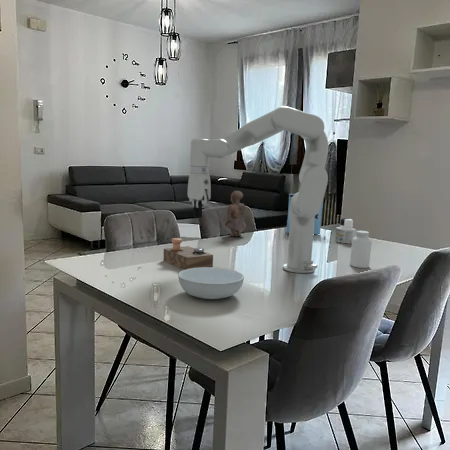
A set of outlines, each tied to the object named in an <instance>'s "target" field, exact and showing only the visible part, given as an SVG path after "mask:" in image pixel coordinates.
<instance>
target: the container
mask: <svg viewBox="0 0 450 450" xmlns="http://www.w3.org/2000/svg"><path fill="white" fill-rule="evenodd" d="M353 226H354V220H353V219H352V218H346V217H344V218H341V219H340V225H339V227H337V226H336V227H335V229H336V230H335V237H334V239H335V240H334V241H335V242H337V241H339V242H338V243H340V242H342V243H341V244H343V243H348V244H352V240H353V238H354V237H357V236H356V231H357V229H356V228H353Z"/></svg>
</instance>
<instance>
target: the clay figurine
mask: <svg viewBox="0 0 450 450" xmlns="http://www.w3.org/2000/svg"><path fill="white" fill-rule="evenodd" d="M243 197H244V194H243V192H242V191H241V190H234V191H233V192H231V194H230V202H231V204H228V206H227V210H226V211H227V220H226V221H225V222H224V223H225V224H224V226H225V227H227V228H228V229H230V232H231V234H230V235H229V237H238V236H239V237H241V236H242V234H241V233H242V232H244V231H245V230H246V228H247V225H246V222H245V213H246V212H245V210H246V204H244V203H241V201H240V200H242V199H243Z"/></svg>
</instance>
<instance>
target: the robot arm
mask: <svg viewBox="0 0 450 450" xmlns="http://www.w3.org/2000/svg"><path fill="white" fill-rule="evenodd" d="M283 131H286V132H289V133H290V134H291V133H292V134H294V135H298V136H300V138H302V139H303V140H304V142H305V153H304V157H303V160H302V164H301V167H300V170H299V173H298V174H299V175H298V180H299V183H300V185H299V190H298V192H296V193H294V194H295V195H294V196H293V197H292V199H291V203H290V230H289V233H288V244H287V245H288V246H287V259H286V263H284V264H283V265H282V269H283V270H285V271H287V272H290V273H297V274H310V273H313V272H315V271H316V269H317V268H318V264H314V260H313V259H312V255H313V254H312V253H313V242H314V235H313V232H314V216H315V215H317V213H318V212H319V210H320V208H321V205H322V206H323V204H322V201H323V202H324V197H325V194H326V190H327V186H328V181H329V179H328V178H329V176H328V172H327V170H326V169H325V168H326V163H327V158H328V153H329V141H328V137H327V134H326V132H325V123H324V120H323V119H322V118H320V117H319V116H318V115H315V114H312V113H309V112H306V111H302V110H300V109H296V108H293V107H289V106H285V105H282V106H281V105H280V106H279V107H277V108H276V109H273V110H272V111H270V112H267V113H266V114H263V115H261V116H259V117H257V118H255V119H253V120H251V121H249V122H247V123H245V124H244V125H242V126H241V127H240V128H238V129H236V130H235V131H232V132H231V133H229V134H227V135H225V136H223V137H220V138H217V139H215V138H214V139H207V138H198V137H197V138H196V137H195V138H192V139H191V141H190V152H189V153H190V154H189V155H190V156H189V175H188V181H187V182H188V183H187V198H188V200H189V202H191V204H192V205H191V206H192V218H194V219H201V218H203V208H204V205H207V204H208V201H210V200H211V197H212V196H211V194H212V193H211V192H212V191H211V189H212V187H211V177H210V176H211V175H210V158H212V159H217V160H223V159H225V158H226V157H228V156H231V155H233V154H235V153H237V152H238V151H240V150H243V149H245V148H247V147H251V146H254V145H256V144H258V143H261V142H263V141H265V140H266V139H269V138H271V137H273V136H275V135H277V134H279V133H281V132H283Z"/></svg>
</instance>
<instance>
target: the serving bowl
mask: <svg viewBox="0 0 450 450" xmlns="http://www.w3.org/2000/svg"><path fill="white" fill-rule="evenodd" d="M177 275H178V276H177V277H178V282H179V285H180V288H182V289H183V291H184V292H185V293H187V294H189V295H190V296H193V297H196V298H200V299H203V300H219V299H224V298H228V297H232V296H234V295H235V294H236V293H238V292H239V291H240V289H241V288H242V286H243V283H244V279H245V276H244V274H243V273H241V272H239V271H237V270H234V269H229V268H225V267H200V268H191V269H186V270H185V269H182V270H181V271H180V272H179V273H178V274H177Z"/></svg>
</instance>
